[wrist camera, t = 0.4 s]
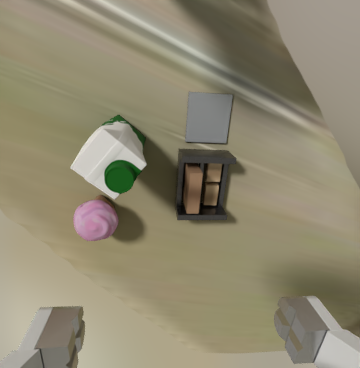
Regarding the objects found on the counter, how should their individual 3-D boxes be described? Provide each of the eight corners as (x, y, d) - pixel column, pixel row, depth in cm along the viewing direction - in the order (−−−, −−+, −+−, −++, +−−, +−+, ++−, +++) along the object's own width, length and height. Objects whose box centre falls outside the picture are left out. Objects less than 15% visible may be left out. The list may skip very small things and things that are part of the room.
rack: (178, 148, 53) (182, 156, 48) (227, 150, 55) (236, 158, 49) (174, 206, 59) (177, 219, 54) (219, 207, 60) (226, 219, 55)
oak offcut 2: (204, 181, 57) (206, 185, 55) (216, 181, 58) (219, 185, 56) (201, 200, 59) (203, 205, 57) (213, 200, 60) (216, 205, 58)
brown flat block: (184, 160, 55) (190, 173, 47) (195, 161, 55) (202, 173, 48) (182, 196, 58) (186, 213, 51) (192, 196, 59) (198, 213, 51)
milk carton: (125, 166, 54) (113, 211, 35) (90, 139, 51) (57, 173, 32) (151, 137, 52) (153, 168, 34) (117, 107, 49) (98, 123, 30)
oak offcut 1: (206, 156, 55) (209, 160, 53) (219, 157, 56) (222, 160, 53) (204, 177, 57) (206, 181, 55) (216, 177, 58) (219, 181, 55)
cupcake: (128, 206, 58) (124, 230, 48) (102, 228, 59) (94, 255, 50) (100, 181, 54) (90, 201, 45) (73, 204, 56) (58, 229, 47)
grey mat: (188, 91, 49) (189, 92, 49) (232, 94, 50) (232, 94, 50) (185, 140, 53) (185, 141, 52) (225, 142, 54) (226, 143, 54)
